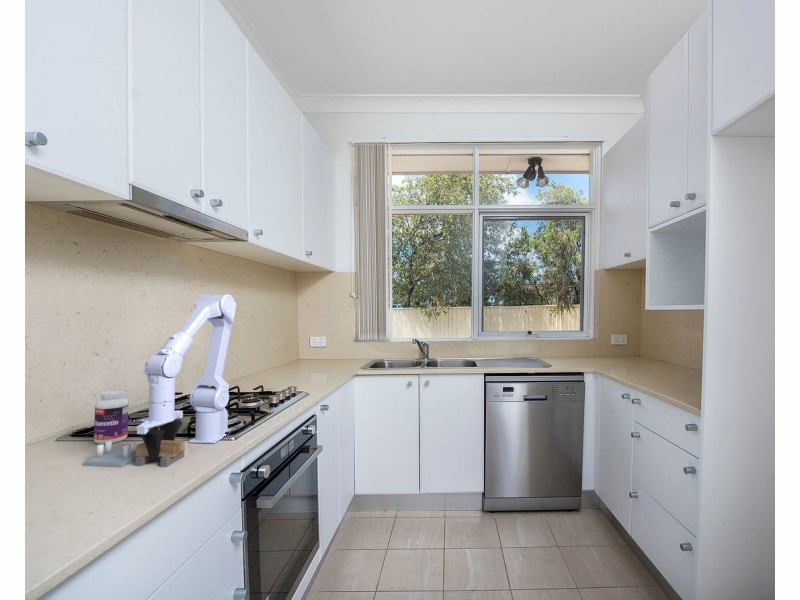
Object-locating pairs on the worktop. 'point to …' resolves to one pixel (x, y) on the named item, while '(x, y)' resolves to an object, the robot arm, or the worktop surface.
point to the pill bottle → (111, 417)
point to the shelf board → (163, 448)
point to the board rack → (164, 461)
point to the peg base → (113, 455)
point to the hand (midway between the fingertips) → (160, 453)
